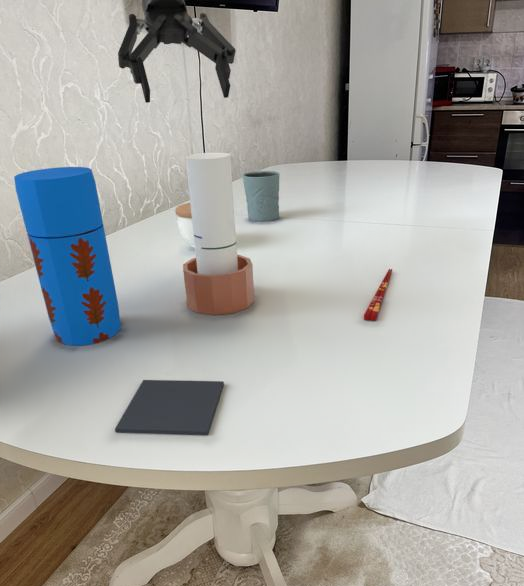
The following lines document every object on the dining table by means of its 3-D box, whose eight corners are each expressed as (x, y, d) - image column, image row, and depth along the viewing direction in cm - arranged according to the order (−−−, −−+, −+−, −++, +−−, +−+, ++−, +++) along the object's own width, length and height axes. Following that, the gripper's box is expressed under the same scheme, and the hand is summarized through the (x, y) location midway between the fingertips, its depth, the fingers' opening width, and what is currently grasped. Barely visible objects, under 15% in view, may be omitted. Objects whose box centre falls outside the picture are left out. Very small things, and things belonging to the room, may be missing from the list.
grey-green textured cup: (274, 223, 142) (272, 177, 137) (239, 221, 146) (236, 176, 140) (285, 214, 151) (284, 170, 145) (252, 212, 154) (249, 170, 148)
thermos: (70, 353, 79) (28, 183, 68) (43, 331, 87) (1, 174, 75) (134, 330, 86) (106, 171, 74) (104, 312, 93) (74, 164, 81)
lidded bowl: (203, 234, 135) (199, 191, 130) (242, 241, 128) (239, 195, 123) (168, 247, 126) (162, 201, 121) (208, 255, 119) (204, 206, 114)
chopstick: (393, 271, 105) (394, 267, 104) (375, 321, 85) (376, 315, 84) (383, 271, 105) (384, 266, 105) (363, 319, 85) (363, 314, 85)
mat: (115, 432, 61) (114, 428, 61) (143, 382, 71) (143, 379, 71) (207, 435, 60) (207, 431, 60) (224, 384, 70) (223, 381, 69)
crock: (174, 301, 96) (170, 264, 93) (228, 284, 103) (225, 249, 99) (211, 320, 88) (207, 281, 84) (267, 301, 94) (265, 263, 91)
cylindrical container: (222, 290, 100) (210, 151, 88) (248, 300, 95) (239, 154, 83) (192, 302, 95) (176, 157, 84) (218, 312, 91) (204, 160, 79)
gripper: (226, 16, 101) (254, 105, 95) (92, 19, 94) (114, 115, 88) (231, -22, 94) (262, 72, 88) (87, -22, 87) (111, 80, 81)
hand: (188, 94), depth 88 cm, fingers open, 13 cm apart
